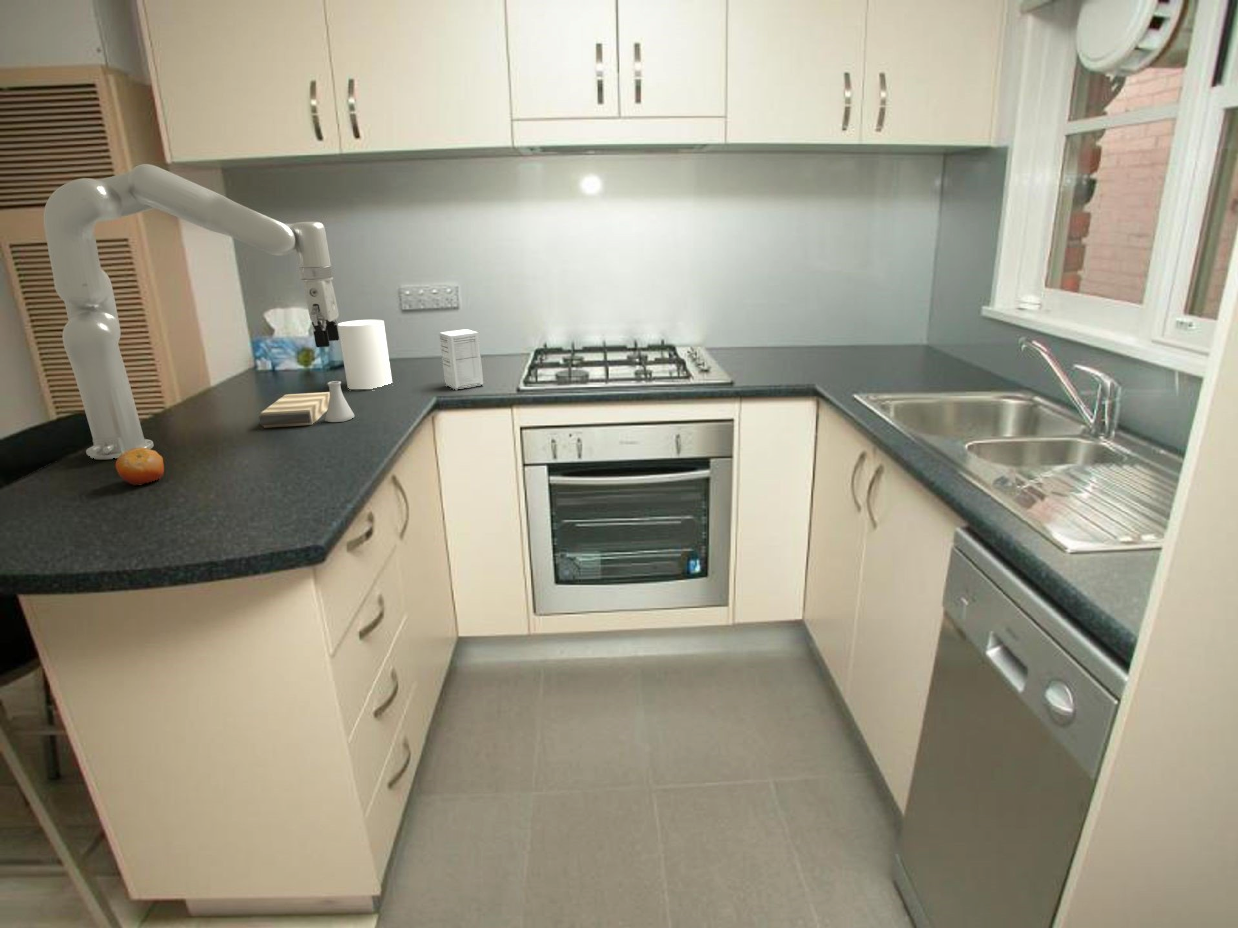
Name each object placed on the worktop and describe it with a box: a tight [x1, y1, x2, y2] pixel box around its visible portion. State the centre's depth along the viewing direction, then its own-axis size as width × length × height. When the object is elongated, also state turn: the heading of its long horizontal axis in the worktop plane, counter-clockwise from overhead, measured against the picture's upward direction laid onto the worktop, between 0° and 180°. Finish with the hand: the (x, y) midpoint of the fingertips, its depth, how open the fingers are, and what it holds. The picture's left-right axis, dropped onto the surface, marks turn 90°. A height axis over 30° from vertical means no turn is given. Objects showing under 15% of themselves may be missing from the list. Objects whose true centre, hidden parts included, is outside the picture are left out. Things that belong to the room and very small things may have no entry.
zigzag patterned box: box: [258, 391, 330, 429], centre depth 191 cm, size 22×12×4 cm, turn 7°
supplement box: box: [438, 328, 484, 388], centre depth 218 cm, size 10×9×17 cm
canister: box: [337, 319, 393, 390], centre depth 222 cm, size 14×14×20 cm
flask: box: [324, 380, 355, 423], centre depth 186 cm, size 7×7×10 cm
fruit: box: [115, 447, 165, 486], centre depth 144 cm, size 8×8×8 cm
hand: (328, 343), depth 181 cm, fingers open, 9 cm apart
